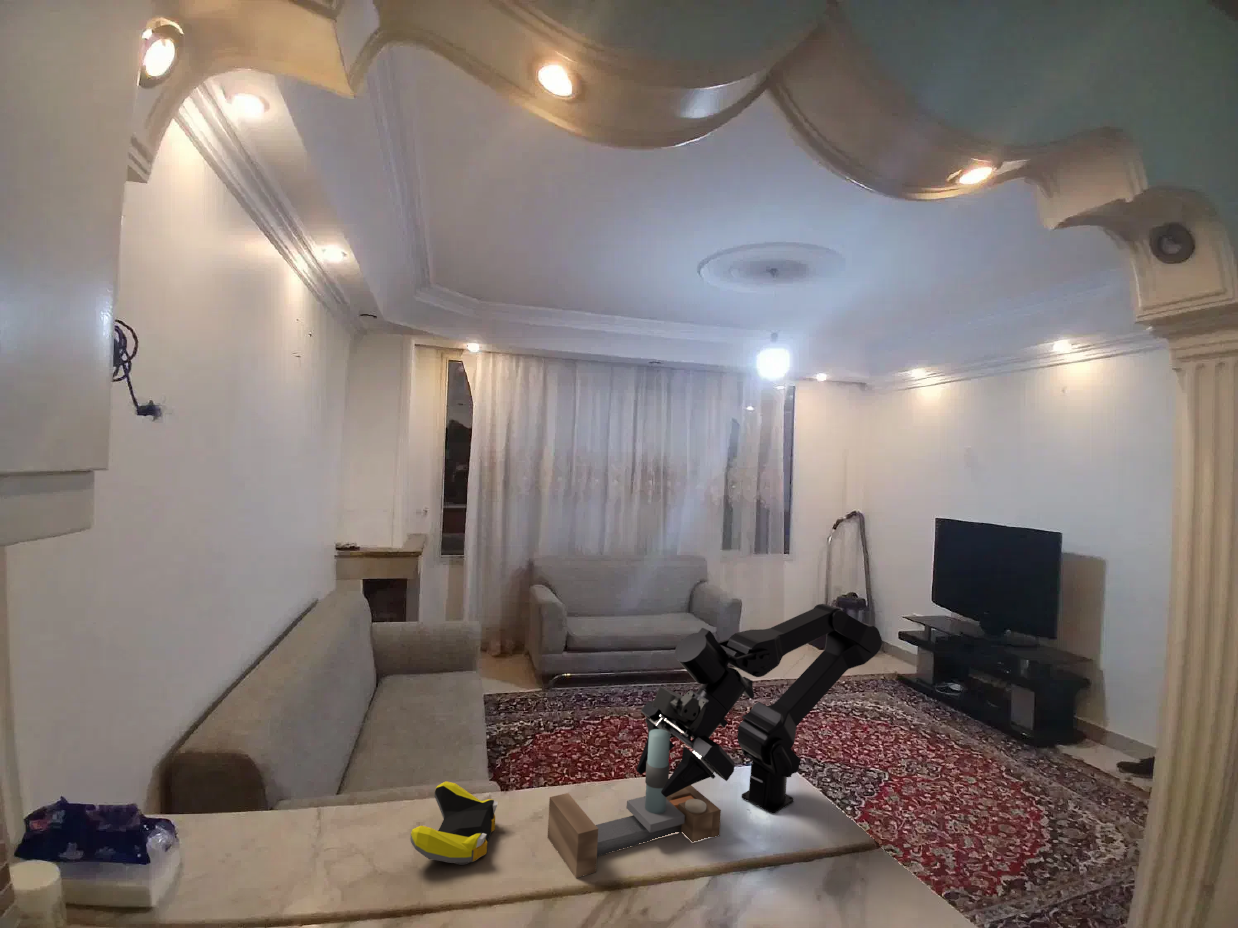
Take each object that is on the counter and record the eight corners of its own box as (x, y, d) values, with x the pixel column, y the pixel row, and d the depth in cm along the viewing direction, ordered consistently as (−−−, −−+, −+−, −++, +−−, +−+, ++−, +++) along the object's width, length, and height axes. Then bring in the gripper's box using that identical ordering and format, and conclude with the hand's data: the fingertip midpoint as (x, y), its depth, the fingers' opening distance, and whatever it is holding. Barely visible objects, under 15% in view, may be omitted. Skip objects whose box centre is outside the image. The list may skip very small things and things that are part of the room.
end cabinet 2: (682, 802, 107) (683, 775, 107) (719, 835, 98) (721, 806, 98) (656, 809, 104) (658, 781, 104) (692, 843, 95) (694, 813, 95)
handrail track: (687, 813, 104) (688, 801, 103) (702, 826, 100) (703, 813, 100) (561, 846, 93) (562, 833, 93) (573, 862, 89) (574, 848, 89)
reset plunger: (690, 804, 102) (690, 795, 102) (695, 808, 101) (695, 799, 101) (668, 809, 100) (669, 800, 100) (673, 814, 99) (674, 805, 99)
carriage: (659, 799, 103) (663, 721, 102) (684, 823, 96) (689, 739, 96) (626, 808, 100) (631, 727, 100) (650, 832, 94) (654, 746, 93)
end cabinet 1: (566, 832, 97) (568, 792, 96) (595, 872, 88) (598, 828, 88) (547, 837, 95) (549, 796, 95) (575, 877, 86) (578, 833, 86)
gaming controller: (404, 874, 85) (479, 878, 85) (406, 833, 85) (481, 837, 85) (437, 811, 100) (501, 815, 100) (438, 776, 100) (502, 780, 100)
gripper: (654, 651, 108) (591, 727, 103) (723, 690, 92) (652, 782, 86) (690, 692, 112) (631, 767, 107) (762, 736, 96) (697, 827, 90)
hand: (650, 783), depth 97 cm, fingers open, 7 cm apart
